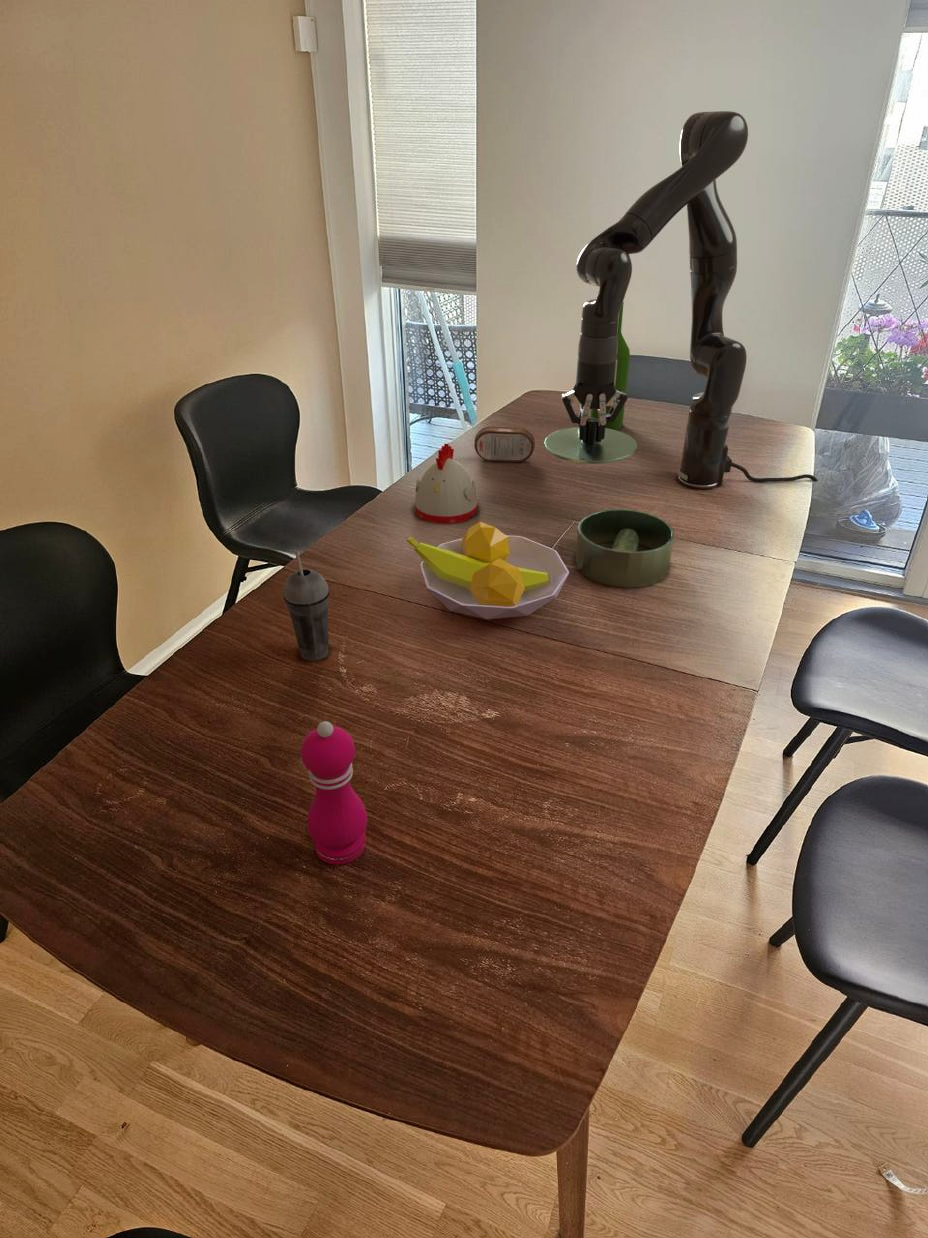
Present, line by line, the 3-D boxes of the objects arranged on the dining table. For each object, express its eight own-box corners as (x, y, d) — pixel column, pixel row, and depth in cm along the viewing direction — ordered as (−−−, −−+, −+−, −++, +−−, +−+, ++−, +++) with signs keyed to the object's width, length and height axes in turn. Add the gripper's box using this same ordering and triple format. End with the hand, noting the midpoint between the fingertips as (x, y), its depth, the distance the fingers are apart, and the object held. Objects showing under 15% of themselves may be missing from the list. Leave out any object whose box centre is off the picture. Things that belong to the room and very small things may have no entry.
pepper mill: (313, 825, 103) (294, 704, 91) (370, 821, 103) (358, 700, 92) (309, 871, 97) (288, 747, 85) (369, 866, 97) (356, 743, 86)
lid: (626, 430, 175) (628, 402, 172) (645, 465, 160) (649, 435, 156) (539, 432, 175) (540, 405, 171) (550, 468, 159) (552, 438, 156)
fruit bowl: (583, 576, 154) (587, 523, 148) (532, 651, 134) (535, 594, 127) (451, 547, 164) (450, 496, 158) (385, 613, 143) (382, 558, 137)
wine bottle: (585, 428, 219) (596, 303, 201) (594, 418, 226) (604, 296, 208) (618, 433, 216) (631, 306, 198) (625, 422, 223) (639, 299, 205)
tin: (534, 459, 202) (535, 426, 197) (533, 464, 199) (535, 431, 195) (474, 457, 203) (474, 424, 199) (473, 461, 201) (473, 429, 196)
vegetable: (629, 581, 151) (632, 557, 149) (602, 576, 153) (604, 553, 150) (640, 547, 162) (643, 525, 160) (615, 543, 164) (617, 521, 161)
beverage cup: (344, 644, 136) (332, 539, 124) (324, 669, 130) (310, 561, 119) (305, 636, 138) (290, 532, 126) (284, 660, 132) (266, 554, 121)
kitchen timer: (405, 517, 175) (401, 452, 167) (429, 492, 186) (427, 429, 177) (465, 527, 171) (464, 461, 163) (485, 501, 182) (486, 437, 173)
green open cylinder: (656, 541, 166) (661, 508, 161) (679, 586, 151) (685, 551, 146) (569, 543, 165) (572, 510, 161) (583, 588, 150) (586, 553, 146)
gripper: (628, 350, 160) (620, 433, 170) (558, 352, 160) (554, 435, 169) (636, 361, 154) (627, 447, 163) (564, 363, 153) (559, 449, 163)
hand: (590, 440), depth 166 cm, fingers closed on lid, 2 cm apart
